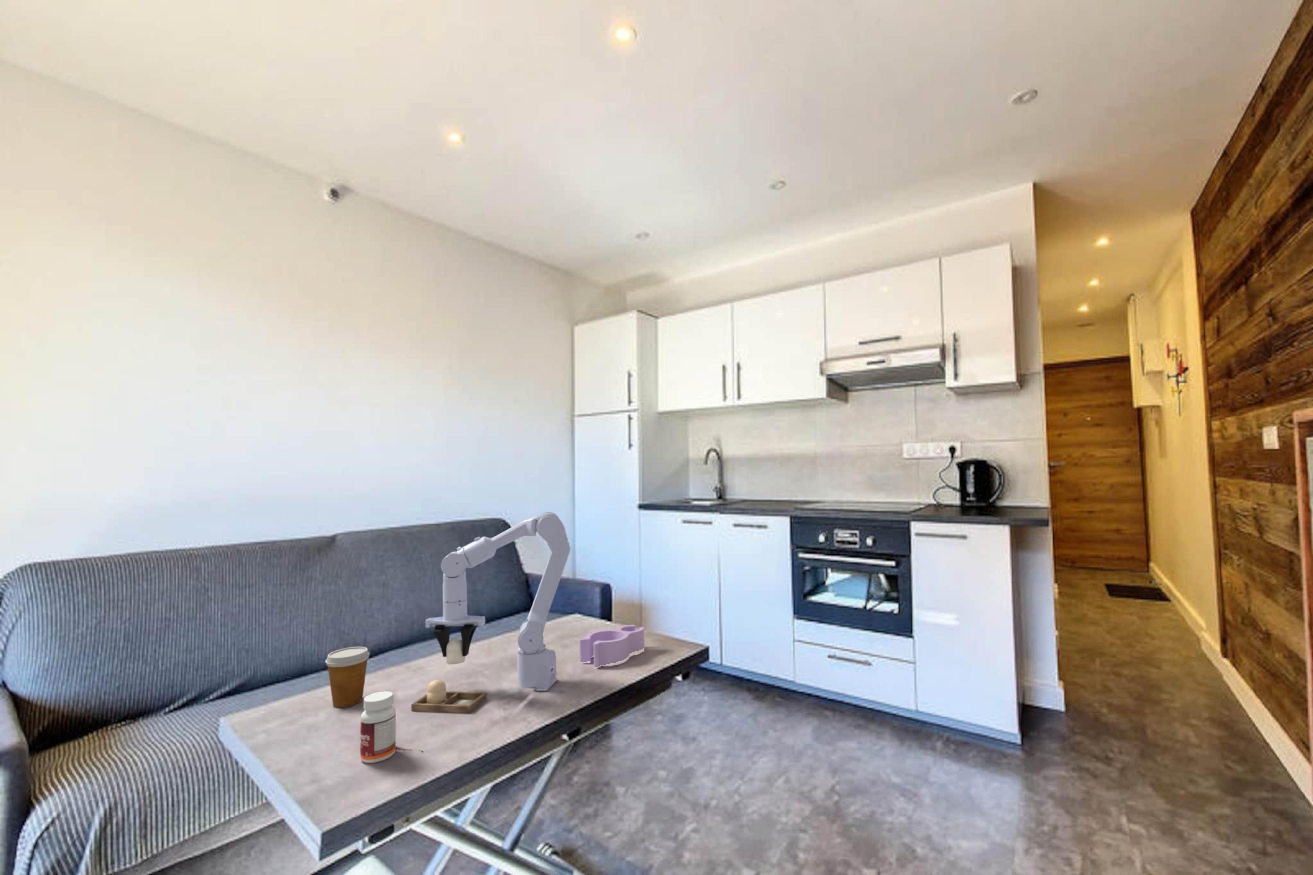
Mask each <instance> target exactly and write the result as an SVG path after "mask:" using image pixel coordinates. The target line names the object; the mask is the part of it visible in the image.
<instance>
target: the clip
mask: <svg viewBox="0 0 1313 875" xmlns="http://www.w3.org/2000/svg"><path fill="white" fill-rule="evenodd" d="M578 642H579V646H578V647H579V663H580V662H587V661H591V662H592V659H591V657H592V656H593V655H594V658H593V668H594V667H599V666H600V665H606V664H610V663H616V662H618V661H622V660H624V659H626V658H627V657H628V656H629V654H630V653H632V652H635V651H639V650H641V649H643V648H644V647H645V627H643V626H639V628H638V629H636V625H635V624H626V625H620V626H619V627H616V628H612V629H601V630H596V631H593V632H590V633H587V634H586V635H585V637H581V638H579V640H578Z"/></svg>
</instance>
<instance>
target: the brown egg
mask: <svg viewBox="0 0 1313 875" xmlns="http://www.w3.org/2000/svg"><path fill="white" fill-rule="evenodd" d="M446 691H447V686H446V682H444V680H442V679H434V680H432V681H431V682H429V684H428V685H427V687H426V694H427V704H442V703H443V702H444V701H446Z"/></svg>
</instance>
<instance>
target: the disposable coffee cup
mask: <svg viewBox="0 0 1313 875" xmlns="http://www.w3.org/2000/svg"><path fill="white" fill-rule="evenodd" d="M370 654H371V653H370V652H369V649H368V648H367V646H350V647H344V648H340V649H337V650H334V651H332V652H330V653H328V654H327V658H326V659H325V664H326V666H327V670H328V678H329V685H330V692H331V701H332V705H333V707H334V708H347V707H351V706H354V705H357V704H359V703H360V702H362V701H363V700H364V698H363V697H364V689H365V682H366V675H367V674H366V673H367V667H368V666H367V665H368V659H369V656H370Z"/></svg>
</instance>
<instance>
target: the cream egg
mask: <svg viewBox="0 0 1313 875" xmlns="http://www.w3.org/2000/svg"><path fill="white" fill-rule="evenodd" d="M445 660H446V662H445V663H446V665H447V664H448V665H459V664H461V663H464V662H466V656H463V655H462V638H460V637H459V638H458V637H454V638H452V639H449V642H448V644H447V647H446V657H445Z"/></svg>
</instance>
